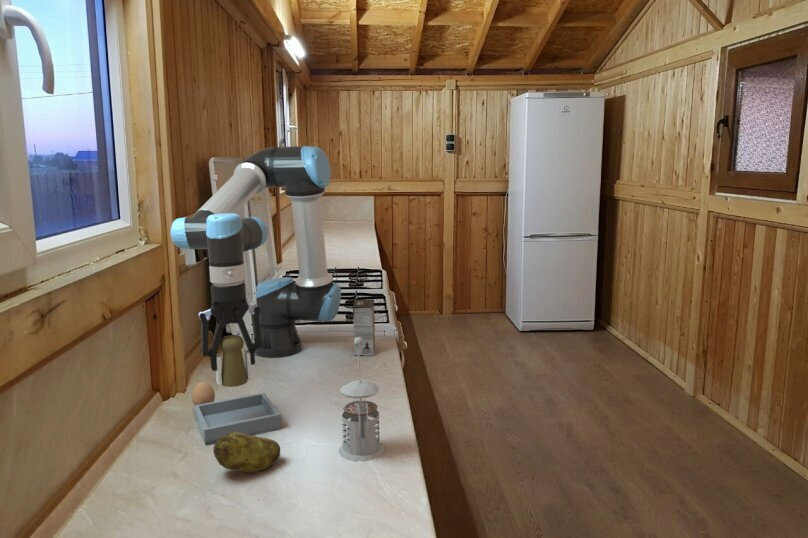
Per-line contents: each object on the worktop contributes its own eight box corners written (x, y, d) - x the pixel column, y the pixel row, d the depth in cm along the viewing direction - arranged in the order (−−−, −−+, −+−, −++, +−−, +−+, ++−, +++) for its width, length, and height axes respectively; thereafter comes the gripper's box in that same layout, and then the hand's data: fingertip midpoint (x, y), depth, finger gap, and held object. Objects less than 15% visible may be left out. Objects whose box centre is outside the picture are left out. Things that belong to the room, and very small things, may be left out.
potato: (282, 475, 121) (280, 437, 120) (214, 484, 118) (211, 445, 117) (280, 455, 129) (278, 419, 128) (216, 463, 126) (213, 427, 125)
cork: (251, 377, 145) (248, 332, 143) (242, 387, 139) (239, 340, 137) (226, 377, 146) (223, 332, 144) (216, 386, 140) (213, 339, 138)
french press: (381, 437, 137) (379, 329, 132) (389, 463, 125) (386, 345, 121) (336, 441, 135) (333, 332, 130) (340, 467, 124) (336, 348, 119)
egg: (209, 402, 157) (207, 376, 156) (219, 408, 153) (217, 382, 152) (189, 409, 153) (186, 382, 152) (199, 415, 149) (197, 388, 148)
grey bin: (265, 405, 155) (264, 392, 154) (281, 428, 142) (280, 414, 141) (194, 419, 147) (193, 405, 147) (205, 445, 134) (204, 430, 133)
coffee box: (355, 347, 200) (354, 299, 197) (375, 346, 200) (374, 299, 197) (353, 356, 191) (352, 306, 188) (374, 356, 191) (373, 306, 188)
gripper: (185, 290, 131) (193, 393, 135) (274, 281, 139) (278, 378, 143) (181, 284, 137) (188, 382, 141) (265, 275, 146) (270, 369, 150)
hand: (234, 380), depth 142 cm, fingers closed on cork, 6 cm apart
